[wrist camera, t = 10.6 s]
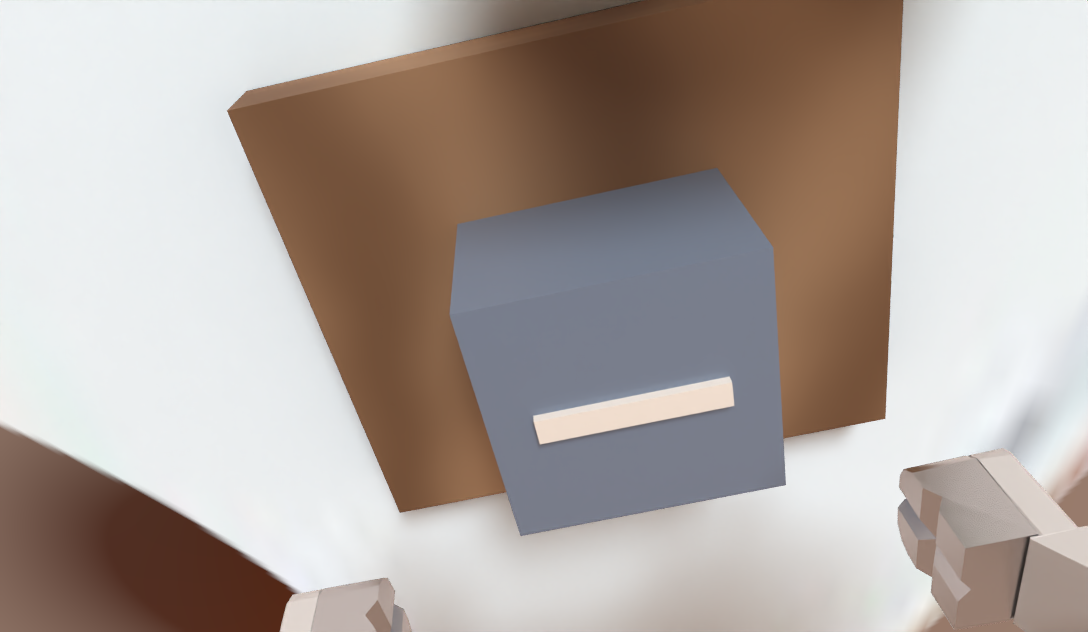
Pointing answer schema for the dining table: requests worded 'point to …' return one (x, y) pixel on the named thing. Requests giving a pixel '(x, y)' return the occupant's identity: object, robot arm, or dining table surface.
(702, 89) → the board
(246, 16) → the dining table surface
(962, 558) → the robot arm
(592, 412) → the grey drawer unit
